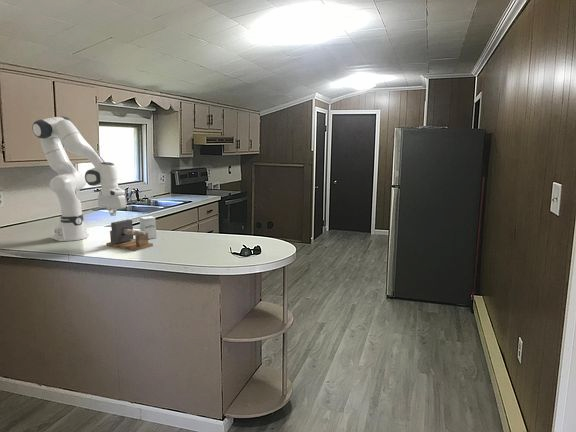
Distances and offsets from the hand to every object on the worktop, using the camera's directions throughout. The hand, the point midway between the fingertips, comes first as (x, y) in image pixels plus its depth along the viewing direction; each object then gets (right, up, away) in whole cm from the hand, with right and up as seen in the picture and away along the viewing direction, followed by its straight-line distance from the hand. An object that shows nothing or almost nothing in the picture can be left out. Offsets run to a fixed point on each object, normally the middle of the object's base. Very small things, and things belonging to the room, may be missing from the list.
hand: (113, 215), depth 258 cm
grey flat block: (+6, -14, -1) cm, 15 cm away
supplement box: (+15, -14, +16) cm, 26 cm away
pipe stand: (+11, -17, -3) cm, 20 cm away
